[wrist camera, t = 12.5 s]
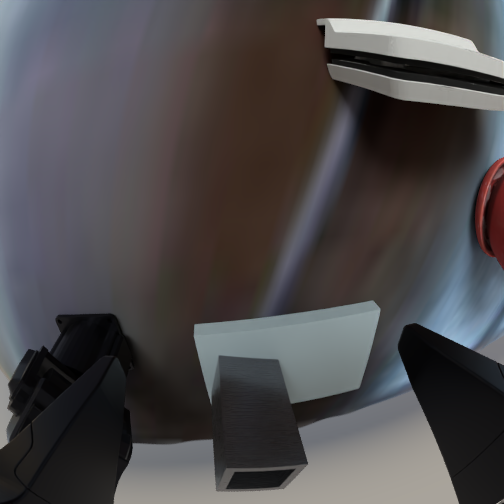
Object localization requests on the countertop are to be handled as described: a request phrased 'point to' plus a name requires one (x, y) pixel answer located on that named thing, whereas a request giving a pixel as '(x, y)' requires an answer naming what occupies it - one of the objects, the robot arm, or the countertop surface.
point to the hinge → (414, 63)
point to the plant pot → (491, 212)
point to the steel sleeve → (253, 426)
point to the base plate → (298, 347)
